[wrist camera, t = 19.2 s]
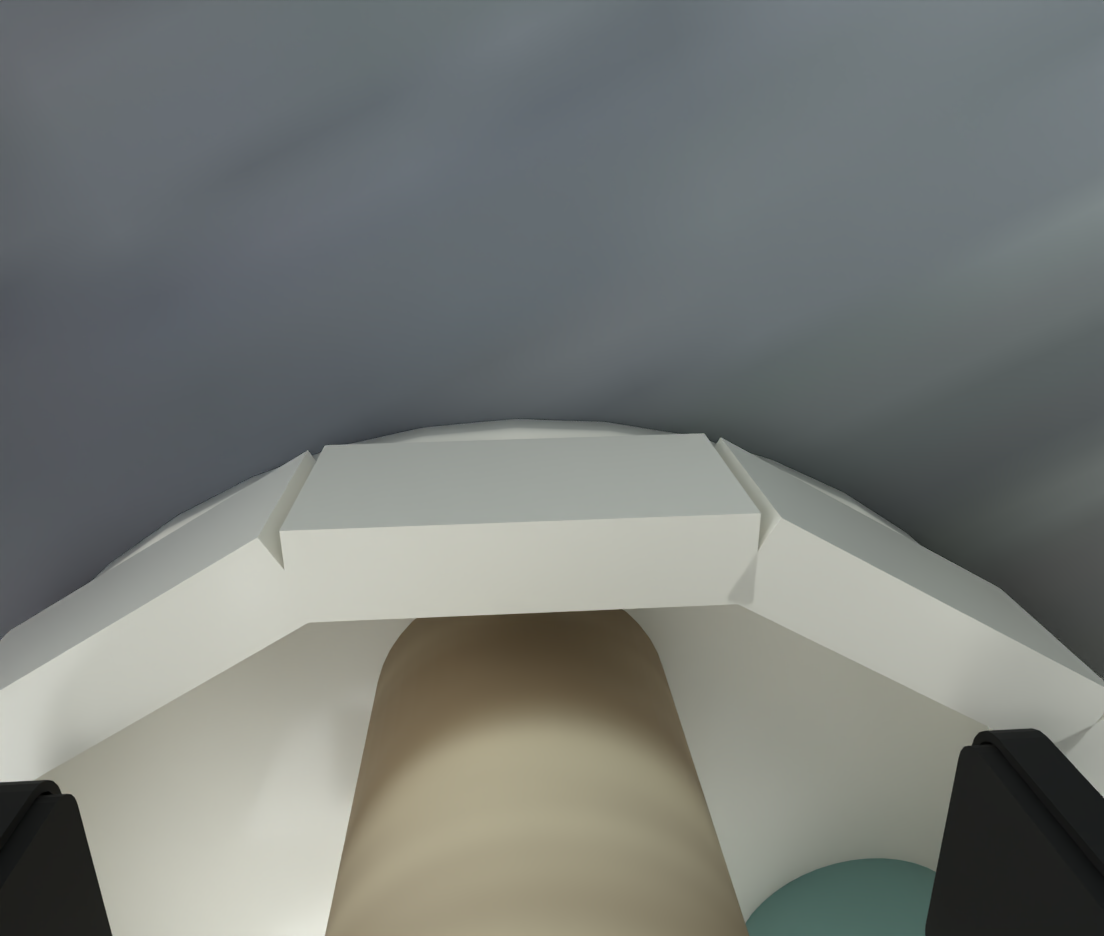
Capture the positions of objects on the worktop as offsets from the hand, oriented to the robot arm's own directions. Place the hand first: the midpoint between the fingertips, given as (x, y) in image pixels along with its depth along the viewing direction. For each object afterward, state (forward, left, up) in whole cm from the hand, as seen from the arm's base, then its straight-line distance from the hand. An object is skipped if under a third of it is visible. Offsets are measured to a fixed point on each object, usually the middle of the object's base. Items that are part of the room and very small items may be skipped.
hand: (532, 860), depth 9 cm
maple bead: (0, 0, -3) cm, 3 cm away
